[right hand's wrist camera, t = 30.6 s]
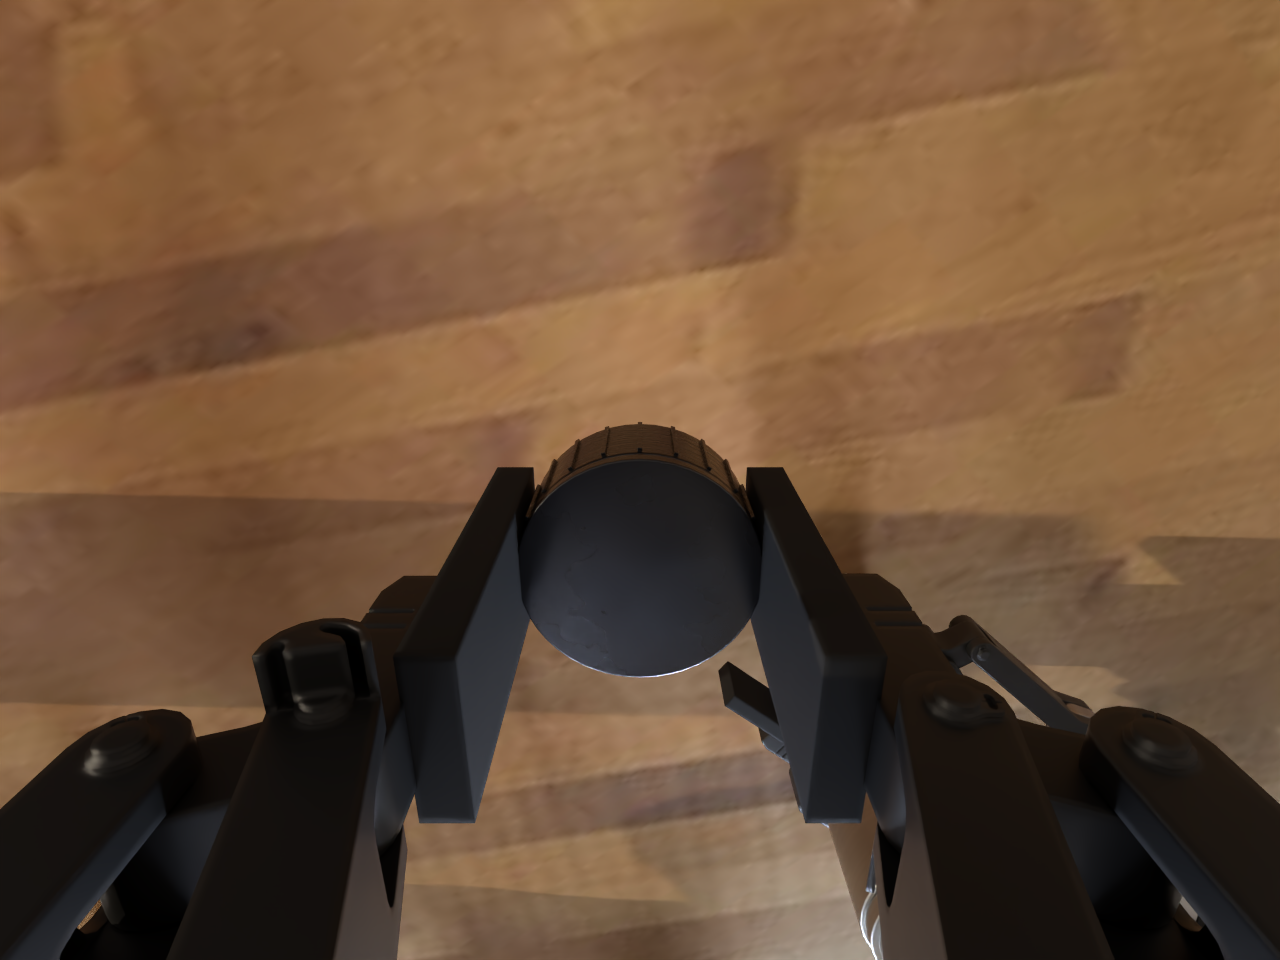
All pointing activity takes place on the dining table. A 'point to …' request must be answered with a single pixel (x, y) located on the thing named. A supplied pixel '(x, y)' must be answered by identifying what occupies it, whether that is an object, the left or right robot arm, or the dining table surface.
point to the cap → (640, 552)
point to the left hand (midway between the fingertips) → (770, 639)
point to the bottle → (860, 872)
